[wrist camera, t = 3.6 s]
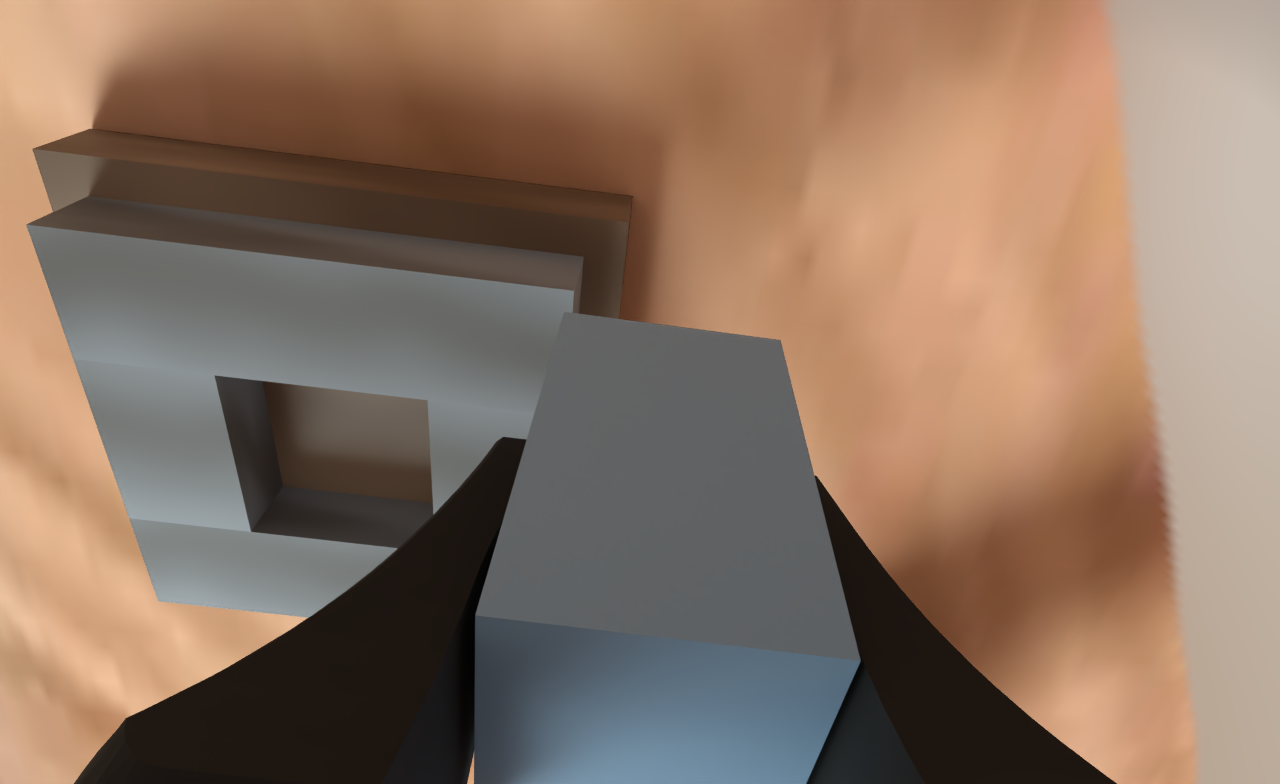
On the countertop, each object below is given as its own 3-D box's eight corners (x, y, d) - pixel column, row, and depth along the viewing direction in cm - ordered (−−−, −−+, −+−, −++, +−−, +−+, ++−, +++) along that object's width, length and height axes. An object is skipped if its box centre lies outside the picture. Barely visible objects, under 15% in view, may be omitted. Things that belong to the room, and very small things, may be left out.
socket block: (591, 573, 27) (579, 667, 23) (202, 530, 26) (133, 619, 23) (632, 196, 19) (623, 253, 16) (90, 128, 19) (-38, 172, 15)
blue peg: (738, 504, 16) (774, 853, 10) (551, 480, 16) (474, 820, 10) (780, 340, 14) (860, 660, 8) (564, 311, 13) (475, 615, 8)
